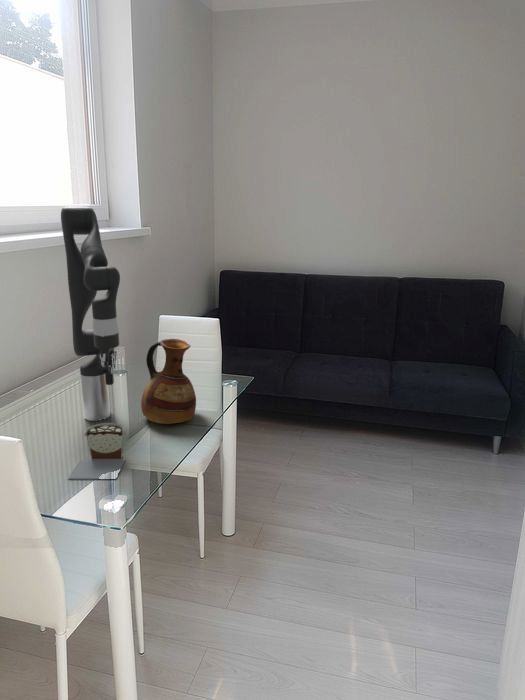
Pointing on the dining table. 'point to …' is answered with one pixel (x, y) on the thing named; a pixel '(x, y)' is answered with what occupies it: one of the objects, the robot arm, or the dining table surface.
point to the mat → (94, 468)
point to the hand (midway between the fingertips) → (109, 384)
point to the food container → (105, 441)
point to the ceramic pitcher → (168, 386)
